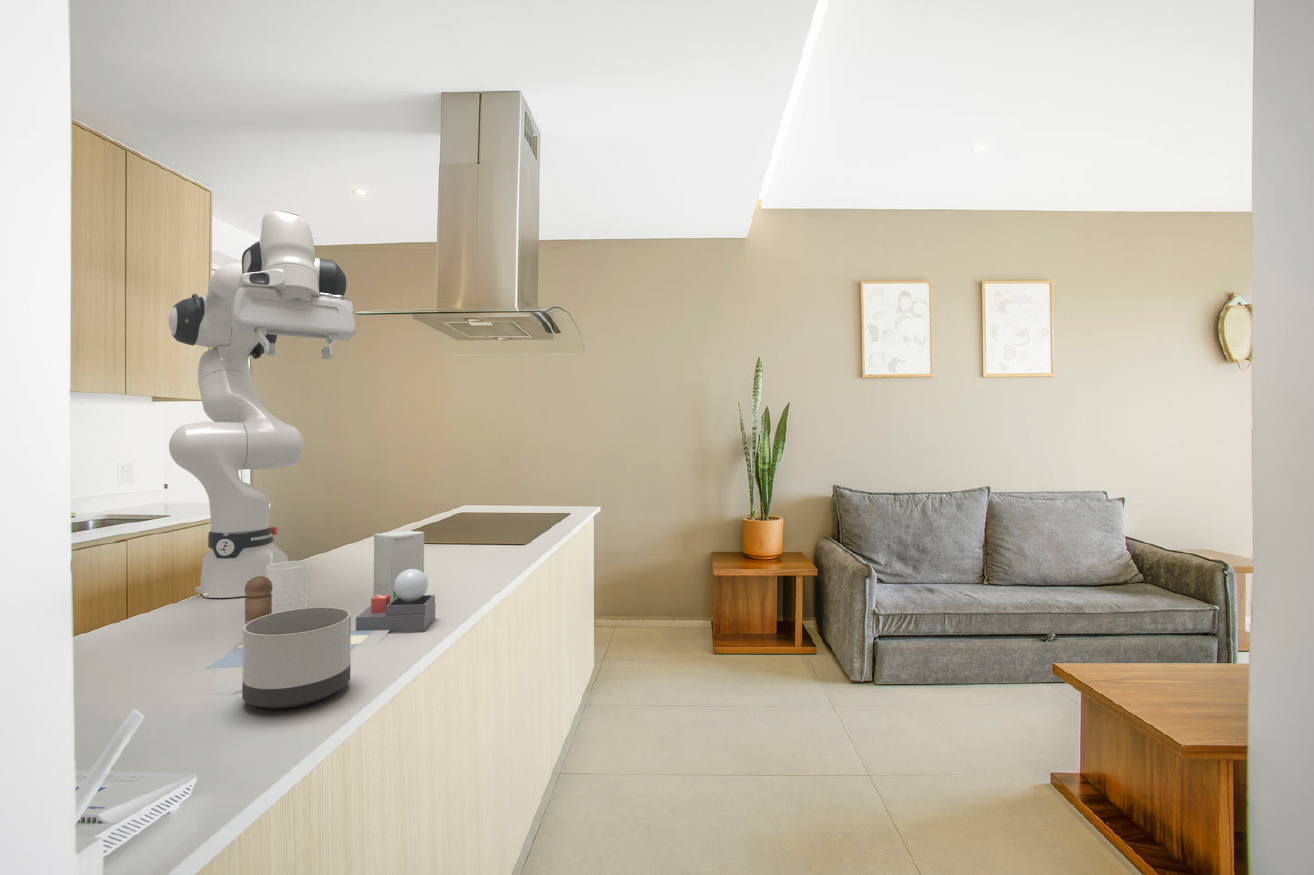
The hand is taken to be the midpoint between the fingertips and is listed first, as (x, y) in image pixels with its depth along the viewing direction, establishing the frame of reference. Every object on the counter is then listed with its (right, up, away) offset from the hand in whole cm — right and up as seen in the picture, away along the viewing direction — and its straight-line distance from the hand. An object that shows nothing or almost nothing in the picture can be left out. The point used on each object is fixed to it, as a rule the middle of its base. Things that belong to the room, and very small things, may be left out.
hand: (299, 355), depth 111 cm
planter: (+17, -51, -29) cm, 61 cm away
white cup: (-7, -51, +9) cm, 52 cm away
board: (+7, -51, -12) cm, 53 cm away
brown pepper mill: (-1, -50, -10) cm, 51 cm away
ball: (+20, -46, +2) cm, 51 cm away
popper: (+18, -51, +2) cm, 54 cm away
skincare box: (+12, -51, +15) cm, 55 cm away
